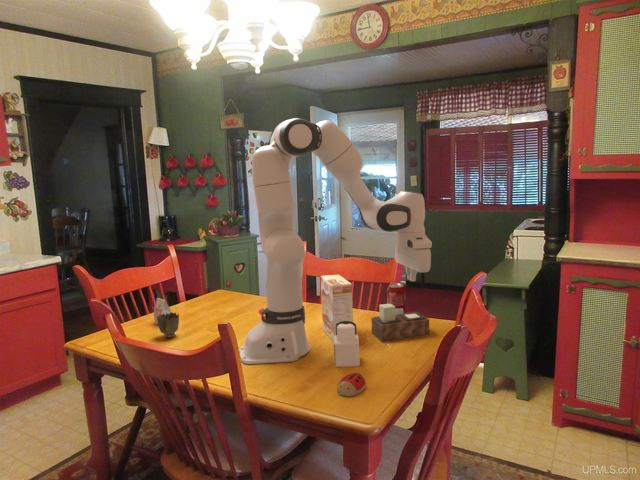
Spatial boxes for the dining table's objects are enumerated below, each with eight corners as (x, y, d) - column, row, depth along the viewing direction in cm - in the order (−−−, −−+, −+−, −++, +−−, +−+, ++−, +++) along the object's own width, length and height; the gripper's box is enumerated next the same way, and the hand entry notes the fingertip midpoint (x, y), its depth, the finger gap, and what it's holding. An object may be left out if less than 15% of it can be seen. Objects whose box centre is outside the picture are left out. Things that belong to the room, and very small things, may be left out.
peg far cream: (409, 334, 161) (409, 318, 161) (404, 330, 165) (404, 314, 164) (420, 333, 162) (420, 316, 162) (415, 329, 166) (415, 313, 165)
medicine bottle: (334, 357, 145) (333, 319, 143) (358, 357, 145) (357, 318, 143) (334, 367, 138) (333, 327, 136) (359, 366, 138) (358, 326, 136)
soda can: (405, 318, 179) (405, 287, 177) (387, 318, 180) (386, 287, 178) (405, 313, 185) (405, 282, 183) (388, 312, 187) (387, 282, 185)
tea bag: (163, 321, 187) (161, 296, 186) (172, 325, 183) (170, 299, 181) (154, 323, 185) (152, 298, 183) (163, 327, 180) (160, 301, 179)
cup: (154, 337, 169) (152, 316, 168) (173, 332, 174) (171, 310, 173) (165, 342, 164) (163, 319, 163) (184, 336, 169) (182, 314, 168)
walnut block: (381, 341, 156) (381, 324, 155) (371, 333, 165) (371, 316, 164) (429, 335, 160) (429, 318, 160) (417, 327, 169) (417, 310, 168)
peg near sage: (384, 324, 159) (383, 308, 158) (379, 321, 162) (379, 304, 161) (395, 323, 159) (395, 306, 159) (390, 319, 163) (390, 303, 162)
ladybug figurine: (332, 395, 122) (331, 382, 121) (348, 379, 130) (347, 367, 130) (356, 400, 119) (355, 387, 118) (371, 384, 127) (371, 371, 127)
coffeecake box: (322, 329, 171) (319, 275, 168) (341, 327, 173) (339, 273, 170) (333, 343, 157) (331, 285, 154) (354, 341, 158) (352, 283, 155)
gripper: (390, 236, 168) (390, 274, 170) (416, 244, 149) (416, 288, 151) (406, 235, 170) (406, 273, 172) (434, 243, 150) (434, 286, 152)
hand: (411, 280), depth 161 cm, fingers closed
